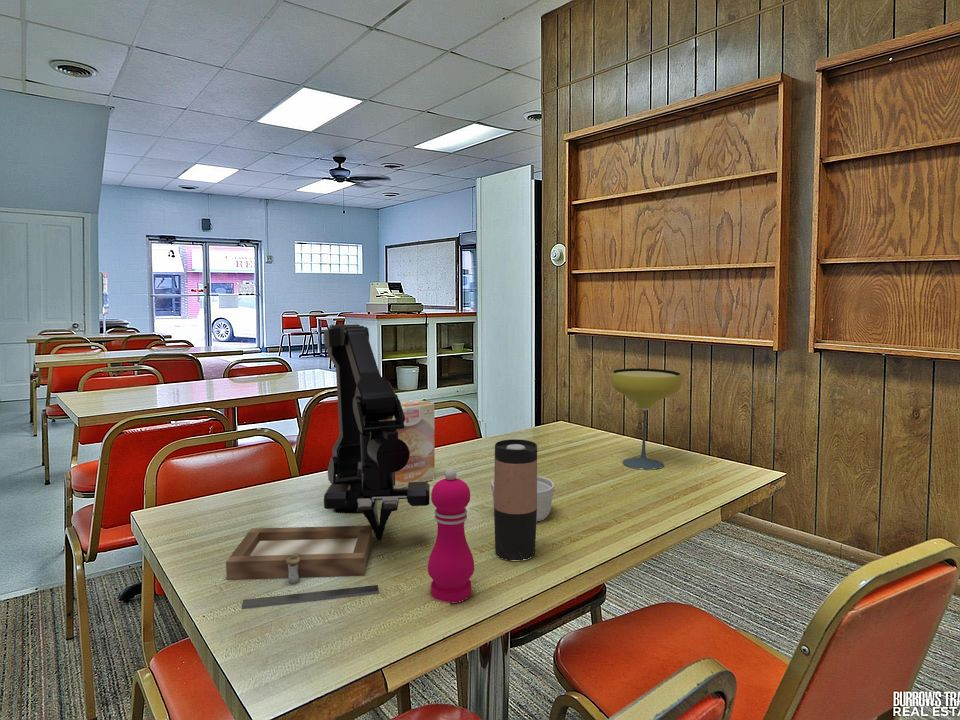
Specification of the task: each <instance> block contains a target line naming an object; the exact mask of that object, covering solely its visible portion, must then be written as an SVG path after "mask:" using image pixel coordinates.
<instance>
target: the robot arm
mask: <svg viewBox="0 0 960 720" xmlns="http://www.w3.org/2000/svg"><path fill="white" fill-rule="evenodd" d="M369 331H370V330H369V328H368V326H364V325H360V324H357V323H356V324H330V325H329V327H328V329H325V330H324V331H323V344H324V347H325V348H326V351H327V356H328V358H329V359H330V360H331V362H332V364H333V365H334V366H335V374H336V376H335V377H336V378H335V379H336V394H337V409H338V410H337V412H338V431H339V432H338V433H339V434H338V437H337V439H336V441H335V443H334V444H333V447H332V456H331V457H330V459H329V463H328V467H327V479H328V481H329V483H330V485H329V487H328V488H327V489H326V492H325V493H324V495H323V508H324V509H326V510H332V509H333V510H334V512H335V514H352V513H353V514H354V513H362V514H363V515H364V517H365V518H366V520H367V522H368V523H369V524H370V525H371V527H372V529H373V533H374V535H375V538H376V540H377V541H382V538H383V535H384V532H385V528H386V525H387V522H388V520H389V518H390V516H391V513H392V512H396V511H398V508H399V502H400V500H405V499H406V500H407V503H408V504H409V505H410V506H411V507H424V506H425V507H426V506H430V501H431V500H430V499H431V493H430V491H431V489H430V485H431V484H429V482H409V483H408V487H404V488H395V489H394V486H395V472H397V471H399V470H401V469H403V468H404V467H405V466H406V464H407V462H408V460H409V456H410V451H409V449H408V446H407V445H406V443H405V442H403V441H402V440H401V439H399V438H398V432H397V431H396V429H404V421H405V416H404V413H403V410H402V406H401V403H400V402H401V400H400V399H399V396H398V394H397V393H395V390H394V388H393V386H392V384H391V382H390V381H389V380H388V379H385V378H384V377H383V376H381V373H380V370H379V367H378V365H377V360H376V358H375V355H374V352H373V349H372V346H371V344H370V333H369ZM393 416H394V417H395V420H391V419H392V418H393ZM380 420H387V421H380ZM379 500H380V501H381V507H380V512H378V502H377V501H379ZM379 513H380V515H379Z"/></svg>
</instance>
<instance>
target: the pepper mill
mask: <svg viewBox="0 0 960 720" xmlns="http://www.w3.org/2000/svg"><path fill="white" fill-rule="evenodd" d="M444 476H445V478H442V479H440V480H438V481H437V482H436V483H435V484H434V485H433V487H432V489H431V493H430V499H431V500H430V501H431V503H432V506H434V507H435V510H434V520H435V521H436V523H437V534H436V539H435V542H434V545H433V547H432V550H431V551H430V554H429V559H428V563H427V573H428V575H429V577H430V578H431V580H432V581H431V584H430V594H431V596H432V597H433V598H434V599H436V600H437V601H441V602H447V603H450V602H459V601H462V600H465V599H466V598H468V597H469V596H470V597H471V595H472V582H471V580H470V579H471V578H472V576H473V575H474V572H475V560H474V556H473V553H472V551H471V548H470V547H469V543H468V541H467V538H466V534H465V533H466V532H465V522H466V521H467V519H468V515H467V513H468V510H467V508H466V507H467V506H468V505H469V503H470V501H471V490H470V487H469V485H468V484H467V483H466V482H465V481H464V480H462V479H460V478H457V471H456V470H455V469H453V468H448V469H447V470H446V471H445V473H444ZM470 594H471V595H470ZM470 597H469V598H470ZM469 598H468V599H469ZM465 601H466V600H465ZM459 603H460V602H459Z"/></svg>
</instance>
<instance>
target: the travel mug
mask: <svg viewBox="0 0 960 720" xmlns="http://www.w3.org/2000/svg"><path fill="white" fill-rule="evenodd" d="M493 471H494V473H493V474H494V475H493V476H494V477H493V479H494V504H493V512H494V514H493V515H494V519H493V520H494V521H493V523H494V549H495V550H494V553H495V555H496V554H497V555H498V556H499V557H500V559H501V558H503V559H507V560H523V559H528V558H530V557H532V556H533V557H535V554H536V541H537V537H536V536H537V535H536V534H537V522H536V519H537V476H538V445H537V443H536V442H534V441H531V440H527V439H519V438H518V439H514V438H513V439H504V440H503V439H501V440H499V441H497V442H495V444H494V470H493ZM497 555H496V556H497ZM498 556H497V557H498ZM499 557H498V558H499ZM533 557H532V558H533ZM503 559H502V560H503ZM507 560H506V561H507Z"/></svg>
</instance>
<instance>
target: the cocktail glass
mask: <svg viewBox="0 0 960 720" xmlns="http://www.w3.org/2000/svg"><path fill="white" fill-rule="evenodd" d="M610 381H611V386H612V387H613V388H614V389H615V391H617V392H618V393H620V394H622V396H625V397H627V398H628V399H631V400H632V401H634V402H635V403H636V404H637V405H638V407H639V408H640V409H641V410H642V411H643V424H642V443H641V452H640V457H631V458H626V459H624V460H623V461H622V464H623V465H624V466H625V465H626V467H627V466H629V467H628V468H630V467H634V468H643V469H653V468H660V467H662V468H664V467H663V465H664V466H665V463H663V462H662V461H660V460H657V459H653V458H648V457H647V453H646V452H647V451H646V431H647V430H646V429H647V427H646V425H647V424H646V423H647V422H646V421H647V420H646V419H647V411H649V410H650V409H651V408H652V407H653V405H654V404H655V403H657V402H658V401H661V400H664V399H666V398H668V397H670V396H672V395H675V393H676V392H678V391H679V390H680V388H681V386H682V382H683V380H682V374H681V373H680V372H678V371H675V370H669V369H659V368H643V367H642V368H638V367H637V368H636V367H635V368H633V367H632V368H619V369H614V370H613V371H612V372H611V376H610ZM634 468H633V469H634ZM660 469H661V468H660Z"/></svg>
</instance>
